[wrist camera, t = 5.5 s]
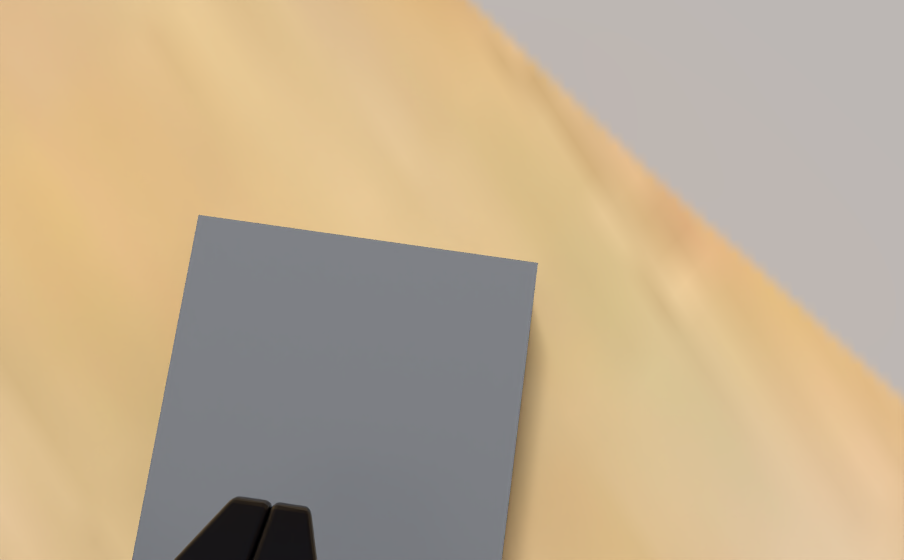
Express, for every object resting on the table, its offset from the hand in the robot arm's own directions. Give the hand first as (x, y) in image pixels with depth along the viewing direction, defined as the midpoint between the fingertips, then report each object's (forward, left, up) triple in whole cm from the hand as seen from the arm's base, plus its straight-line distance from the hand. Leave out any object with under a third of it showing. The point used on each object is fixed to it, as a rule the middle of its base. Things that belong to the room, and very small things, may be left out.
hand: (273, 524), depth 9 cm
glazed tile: (-4, -1, -6) cm, 7 cm away
